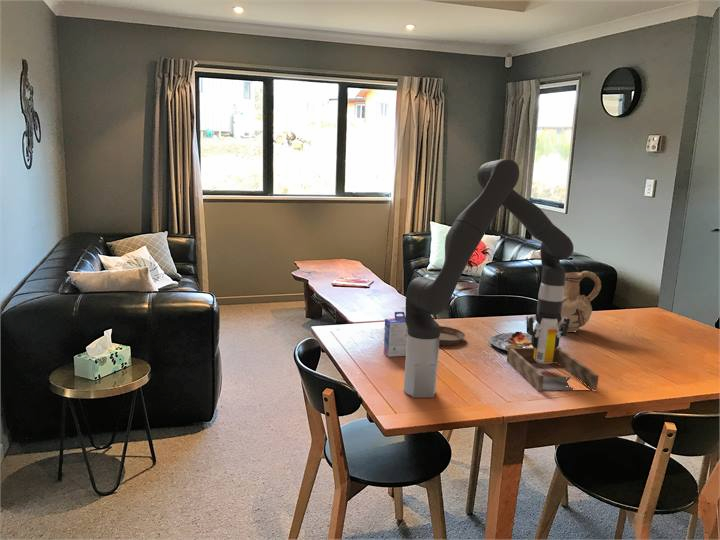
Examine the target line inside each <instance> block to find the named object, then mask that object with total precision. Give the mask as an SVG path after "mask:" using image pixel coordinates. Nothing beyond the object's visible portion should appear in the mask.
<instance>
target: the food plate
mask: <svg viewBox="0 0 720 540" xmlns="http://www.w3.org/2000/svg"><path fill="white" fill-rule="evenodd" d="M531 341H532V335H529V334H528V333H527V332H526V333H525V332H522V331H515V332H502V333H499V334H496V335H495V336H491V337H489V338H488V342H489V343H490V344H492V345H493V346H495V347H496V348H498V349H500V350H504V351H505V352H508V347H511V348H523V347H525V348H534V347H533V346H532V345H531ZM503 345H504V346H505V348H504V347H503ZM527 345H529V346H527ZM557 348H561V346H560V345H559V346H558V347H557ZM561 349H562V348H561Z"/></svg>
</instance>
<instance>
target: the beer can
mask: <svg viewBox="0 0 720 540" xmlns="http://www.w3.org/2000/svg"><path fill="white" fill-rule="evenodd" d="M536 324H537V323H536ZM557 324H558V321H557V318H556V319H550V318H543V319H542V320H541V323H540V324H539V323H538V324H537V327H538V328H539V327H540V326H541V325H542V331H541V332H540V334H539V336H538V346H537V348H535V349H534V357H533V358H534V359H535V361H536V362H538V363H537V364H542V365H543V364H544V365H550V364H552V363H551V362H552V361H553V356H554V348H555V340H556V331H557Z"/></svg>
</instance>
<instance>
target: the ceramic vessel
mask: <svg viewBox="0 0 720 540" xmlns="http://www.w3.org/2000/svg"><path fill="white" fill-rule="evenodd" d="M584 278H589V279H590V280H591V281H593V283H594V287H593V289H592V291H591V292H590V293H589V294H588V296H586V295H585V294H582V295H581V294H580V288H581V287H580V283H581V281H582V280H583V279H584ZM601 289H602V281H601V279H600V278H599V276H598V275H597V274H596V273H594V272H592V271H589V270H583V271H581V272H576V271H575V272H574V271H573V272H571V271H570V272H565V282H564V296H563V304H562V312H561V317H567V318H569V319H570V322H569V326H568V330H567V332H574V331H578V332H579V329H580V328H581V327H583V326H585V325H586V324H587V323H588V322H589V321H590V318H591V315H592V312H593V307H592V304H591V301H593V300H594V299H595V298H596V297H597V296H598V295H599V293H600V292H601ZM561 324H562V323H561V321H560V322H559V323H558V324H557V325H558V328H559V329H560V327H561Z"/></svg>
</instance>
